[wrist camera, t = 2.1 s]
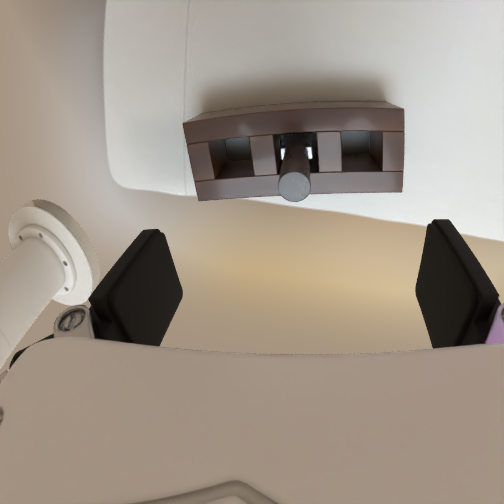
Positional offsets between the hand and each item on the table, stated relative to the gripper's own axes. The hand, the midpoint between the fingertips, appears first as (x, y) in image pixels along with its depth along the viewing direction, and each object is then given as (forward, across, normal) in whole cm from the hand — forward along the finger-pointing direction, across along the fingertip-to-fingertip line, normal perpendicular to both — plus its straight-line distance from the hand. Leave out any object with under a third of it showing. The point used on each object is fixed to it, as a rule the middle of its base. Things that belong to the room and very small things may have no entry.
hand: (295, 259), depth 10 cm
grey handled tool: (+19, 0, 0) cm, 19 cm away
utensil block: (+19, 0, 0) cm, 19 cm away
